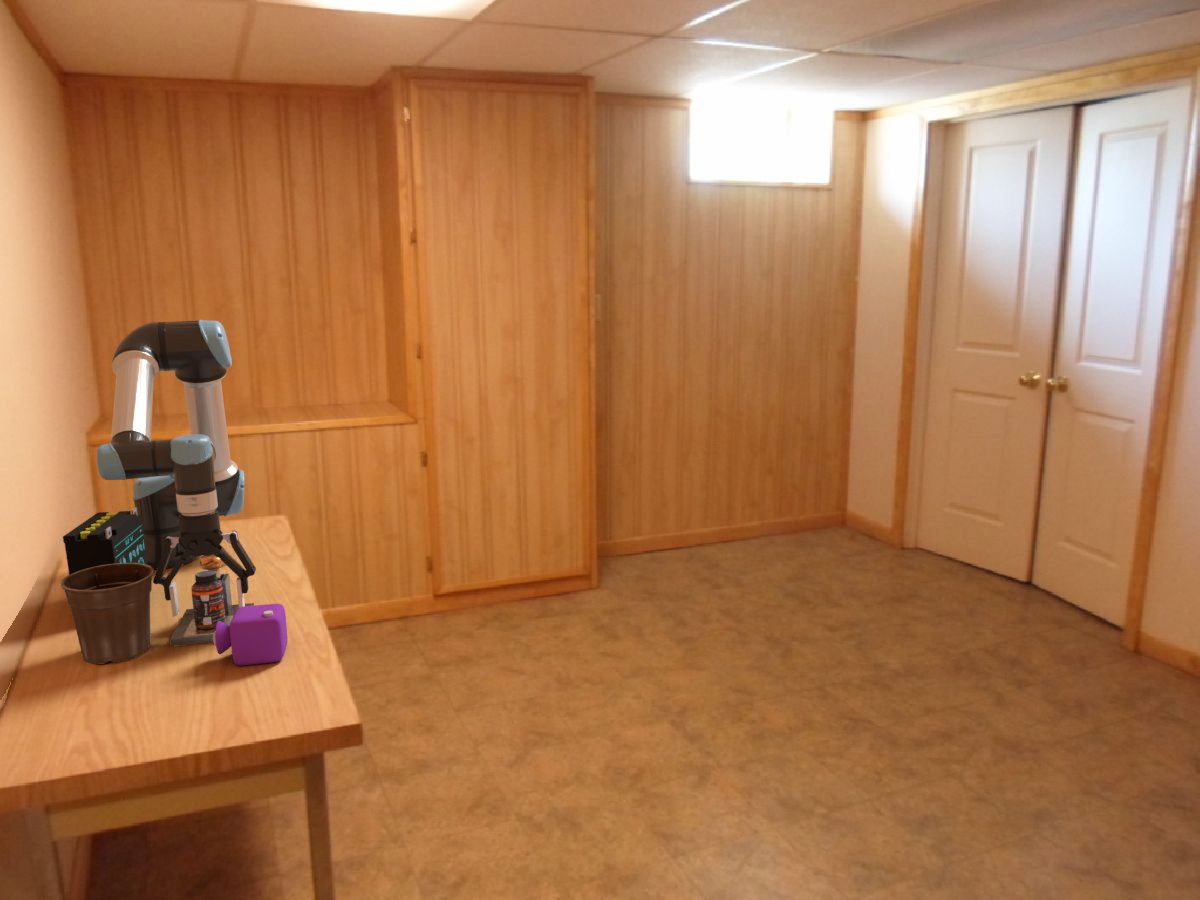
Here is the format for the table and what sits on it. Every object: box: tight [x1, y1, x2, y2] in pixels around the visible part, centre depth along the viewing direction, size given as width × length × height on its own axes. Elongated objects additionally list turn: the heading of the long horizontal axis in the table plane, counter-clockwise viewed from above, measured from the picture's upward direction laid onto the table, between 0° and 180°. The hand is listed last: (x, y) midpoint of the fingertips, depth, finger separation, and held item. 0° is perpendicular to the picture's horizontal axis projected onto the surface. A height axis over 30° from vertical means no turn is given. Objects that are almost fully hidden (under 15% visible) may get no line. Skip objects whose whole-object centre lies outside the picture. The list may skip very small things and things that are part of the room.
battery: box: [62, 506, 147, 576], centre depth 208 cm, size 19×10×20 cm, turn 8°
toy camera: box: [212, 603, 289, 666], centre depth 179 cm, size 11×14×10 cm
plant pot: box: [60, 563, 155, 665], centre depth 182 cm, size 16×16×16 cm
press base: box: [169, 573, 255, 647], centre depth 194 cm, size 17×14×9 cm
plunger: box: [199, 554, 227, 580], centre depth 198 cm, size 5×5×7 cm
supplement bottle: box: [190, 570, 225, 629], centre depth 191 cm, size 6×6×11 cm
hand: (209, 611), depth 191 cm, fingers open, 12 cm apart
